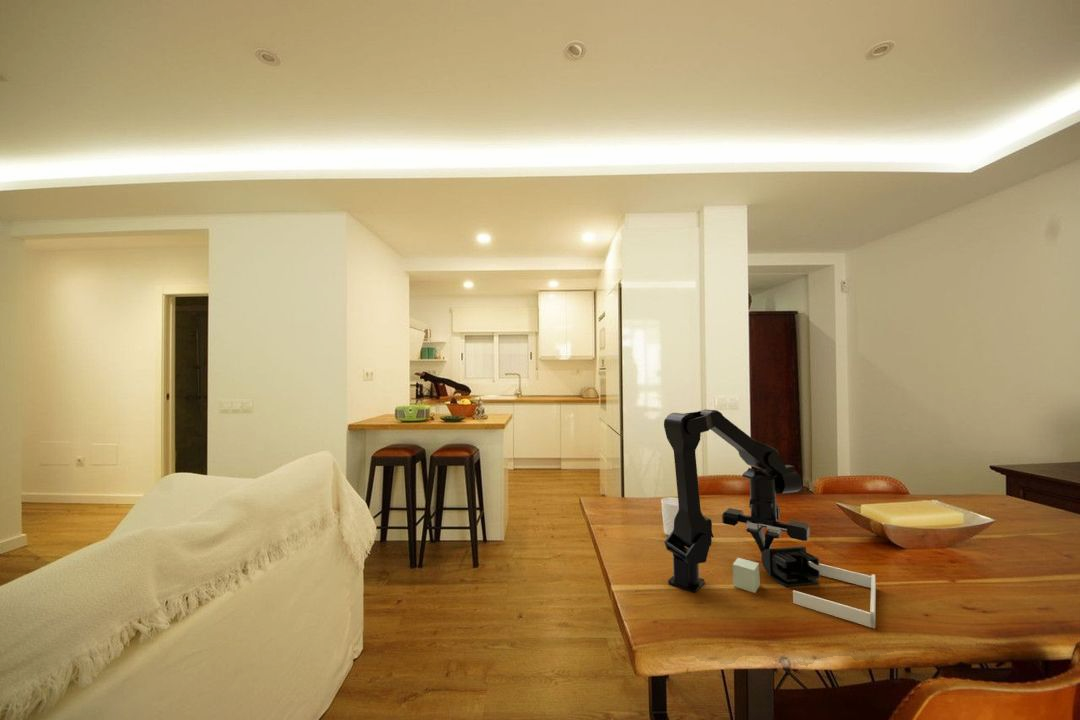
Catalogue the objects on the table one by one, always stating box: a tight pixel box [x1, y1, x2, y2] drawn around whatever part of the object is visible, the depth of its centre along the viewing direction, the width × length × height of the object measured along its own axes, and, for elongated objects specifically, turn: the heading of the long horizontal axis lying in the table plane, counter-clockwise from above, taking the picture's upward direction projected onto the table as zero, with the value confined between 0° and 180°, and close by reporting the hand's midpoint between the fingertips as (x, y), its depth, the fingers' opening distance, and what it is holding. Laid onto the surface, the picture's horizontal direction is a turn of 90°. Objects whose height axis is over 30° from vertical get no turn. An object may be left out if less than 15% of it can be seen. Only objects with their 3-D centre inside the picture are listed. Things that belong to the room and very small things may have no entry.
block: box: [732, 557, 761, 594], centre depth 90 cm, size 4×4×5 cm
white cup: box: [660, 496, 679, 537], centre depth 121 cm, size 8×8×10 cm
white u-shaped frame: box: [792, 561, 877, 629], centre depth 85 cm, size 19×13×3 cm
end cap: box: [761, 545, 821, 588], centre depth 93 cm, size 10×7×7 cm
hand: (765, 557), depth 98 cm, fingers closed
